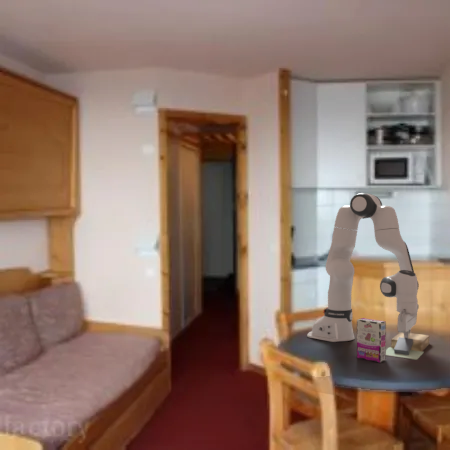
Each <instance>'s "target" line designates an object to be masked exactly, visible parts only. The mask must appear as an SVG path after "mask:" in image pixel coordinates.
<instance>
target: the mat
mask: <svg viewBox="0 0 450 450" xmlns="http://www.w3.org/2000/svg"><path fill="white" fill-rule="evenodd" d="M424 352H425V351H414V350H410V353H409V355H405V354H397V353H394V348H391V346H390V347H387V348H386V357H393V358H402V359H408V360H409V359H410V360H415V361H417V360H419V358H421V356H422V355H423V354H424Z"/></svg>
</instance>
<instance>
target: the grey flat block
mask: <svg viewBox="0 0 450 450" xmlns="http://www.w3.org/2000/svg"><path fill="white" fill-rule="evenodd" d="M412 345H413V339H410V338H401V337H399V338H398V341H397V343H396V346H395V348H394V353H397V354H405V355H409V353H410V350H411V348H412Z"/></svg>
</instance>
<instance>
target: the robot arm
mask: <svg viewBox="0 0 450 450" xmlns="http://www.w3.org/2000/svg"><path fill="white" fill-rule="evenodd" d="M362 219H371V221H372V223H373V228H374V229H373V231H374V238H375V241H376V244H377V245H378V246H379V247H381V248H382V250H383V249H384V250H386V251H388V252H390V253H392V254H394V256H395V257H396V260H397V262H398V267H399V270H398V271H397V273H395V274H392V275H389V276H385V277H383V278H382V279H381V280H380V284H379V290H380V293H382V295H383V296H384V297H385V298H396V312H398V313H399V314H398V315H397V316H398V317H397V325H396V327H397V332H398V333H400V332H402V333H404V338H410V333H411V332H412V331H411V330H412V328H413V327H414V326H416V324H417V318H418V310H419V309H420V308H419V304H418V303H419V302H418V300H419V299H418V291H419V281H418V277H417V274H416V273H415V270H414V266H413V263H412V259H411V255H410V250H409V247H408V245H407V243H406V242H405V241H404V240H403V237H402V236H401V232H400V224H399V219H398V215H397V212H396V210H395V208H394V207H393V206H390V205H383V203H382V200H381V198H379V197H378V196H376V195H373V194H371V193H366V192H361V193H356V194H355V195H354V196H353V197H352V198H351V199H350V201H349V205H344V206H341V207H339V209H338V211H337V214H336V218H335V221H334V225H333V232H332V240H331V242H330V248H329V251H328V255H327V258H326V259H327V260H326V262H325V271H326V274H328V276H329V282H328V283H329V284H328V285H329V286H328V290H327V306H326V307H325V308H324V309H323V310H322V313H323V316H322V317H320V318H319V319H317V320H316V321H315V322H313V324H312V326H311V331H309V332H308V333H307V338H311V339H315V340H316V339H317V340H321V341H327V342H330V343H336V342H337V343H338V342H348V341H353V340H355V337H356V336H355V335H354V330H353V322H352V321H353V308H352V292H353V291H352V289H353V285H354V276H355V267H354V265H353V263H352V262H351V258H352V254H353V251H354V249H355V248H356V247H355V246H356V243H357V242H356V241H357V235H358V234H357V233H358V229H359V223H360V221H361V220H362Z"/></svg>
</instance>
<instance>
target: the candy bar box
mask: <svg viewBox="0 0 450 450" xmlns="http://www.w3.org/2000/svg"><path fill="white" fill-rule="evenodd" d="M386 343H387V322H386V321H384V320H378V319H371V318H365V317H362V318H359V319H356V359H361V360H364V361H369V362H370V361H371V362H375V363H383V362H385V361H387V356H386V349H387V344H386Z"/></svg>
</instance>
